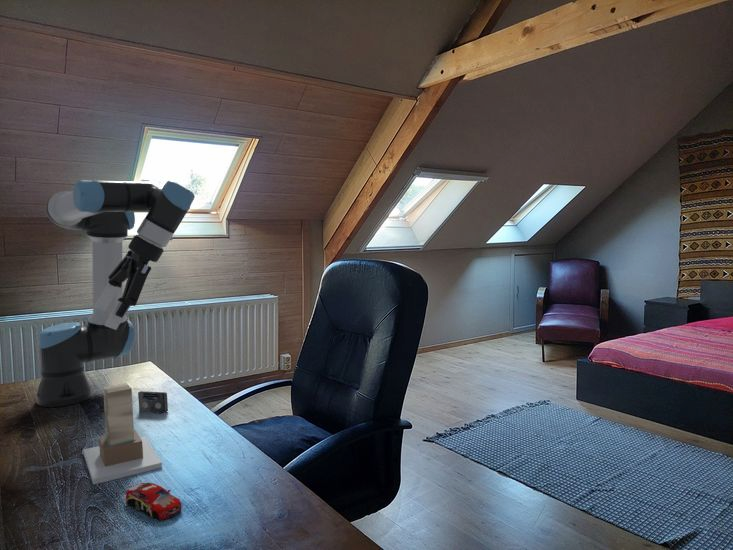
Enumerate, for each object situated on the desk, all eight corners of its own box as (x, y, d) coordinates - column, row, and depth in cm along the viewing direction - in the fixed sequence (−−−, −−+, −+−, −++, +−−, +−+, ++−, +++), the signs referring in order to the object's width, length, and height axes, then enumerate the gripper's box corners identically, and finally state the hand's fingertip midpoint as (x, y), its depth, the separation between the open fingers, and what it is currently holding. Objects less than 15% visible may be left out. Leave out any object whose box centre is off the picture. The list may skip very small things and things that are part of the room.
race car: (187, 512, 105) (186, 493, 104) (161, 526, 100) (160, 505, 100) (147, 492, 112) (146, 474, 112) (122, 504, 108) (121, 484, 108)
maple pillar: (106, 437, 127) (103, 387, 126) (129, 432, 130) (126, 383, 128) (110, 444, 123) (107, 392, 122) (134, 439, 126) (131, 388, 124)
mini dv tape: (168, 412, 159) (166, 391, 158) (165, 413, 157) (164, 393, 157) (142, 410, 160) (141, 390, 160) (139, 412, 159) (138, 392, 158)
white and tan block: (83, 454, 131) (81, 432, 130) (145, 440, 138) (144, 420, 138) (93, 484, 116) (91, 460, 115) (162, 467, 123) (160, 444, 123)
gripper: (178, 260, 125) (130, 342, 124) (151, 237, 145) (110, 307, 144) (148, 246, 120) (98, 330, 119) (125, 223, 140) (81, 295, 139)
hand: (104, 317), depth 131 cm, fingers open, 13 cm apart
